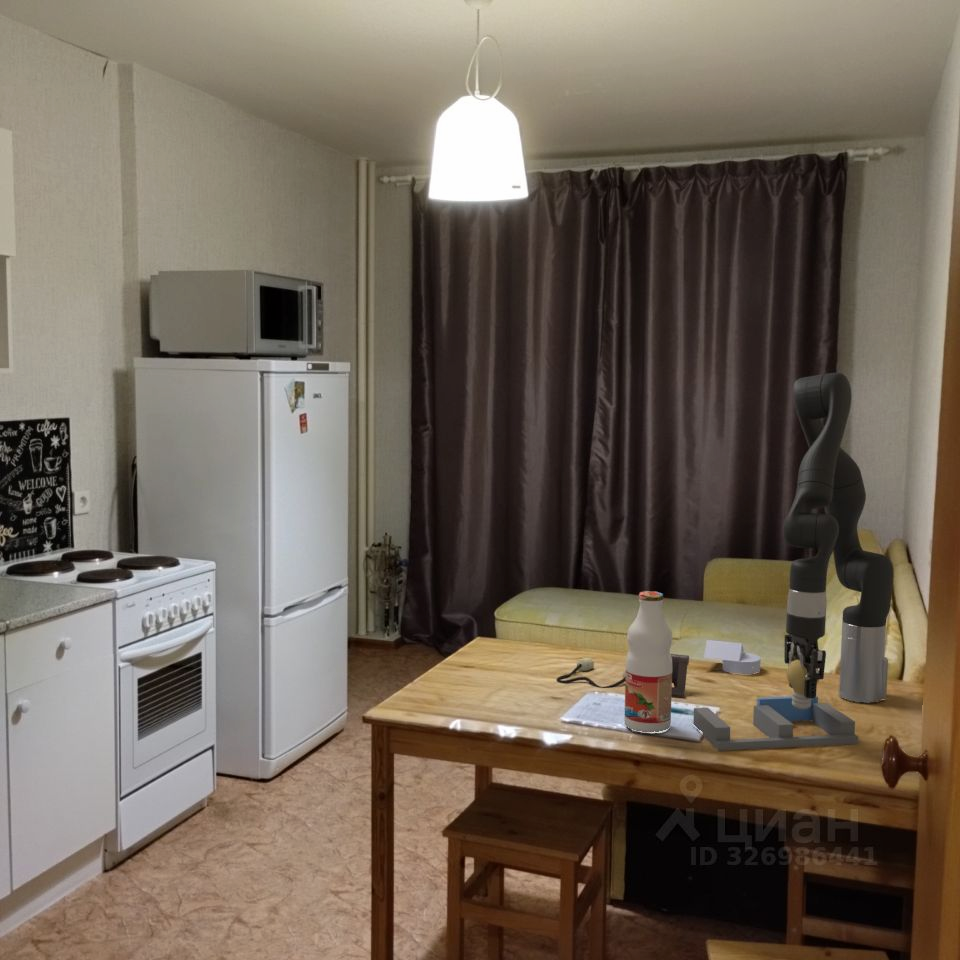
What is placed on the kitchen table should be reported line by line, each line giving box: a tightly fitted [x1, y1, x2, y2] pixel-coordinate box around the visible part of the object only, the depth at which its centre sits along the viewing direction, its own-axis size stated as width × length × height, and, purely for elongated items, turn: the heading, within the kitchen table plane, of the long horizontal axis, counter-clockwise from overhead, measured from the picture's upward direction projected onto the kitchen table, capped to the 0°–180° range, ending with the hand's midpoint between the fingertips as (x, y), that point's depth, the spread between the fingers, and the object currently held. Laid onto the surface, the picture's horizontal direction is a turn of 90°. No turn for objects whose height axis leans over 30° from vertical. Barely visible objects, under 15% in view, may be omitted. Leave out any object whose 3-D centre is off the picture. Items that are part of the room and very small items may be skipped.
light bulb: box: [786, 660, 820, 709], centre depth 212 cm, size 6×6×10 cm
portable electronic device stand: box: [670, 653, 690, 698], centre depth 239 cm, size 9×8×8 cm
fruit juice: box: [623, 590, 673, 732], centre depth 214 cm, size 9×9×28 cm
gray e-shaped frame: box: [692, 695, 859, 752], centre depth 212 cm, size 29×15×5 cm, turn 99°
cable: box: [555, 657, 626, 689], centre depth 248 cm, size 16×16×4 cm
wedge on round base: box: [702, 639, 762, 674], centre depth 258 cm, size 9×7×13 cm
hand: (802, 692), depth 213 cm, fingers closed on light bulb, 6 cm apart
